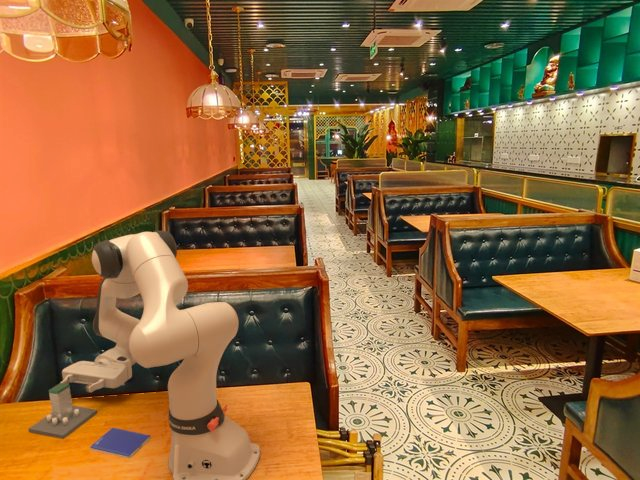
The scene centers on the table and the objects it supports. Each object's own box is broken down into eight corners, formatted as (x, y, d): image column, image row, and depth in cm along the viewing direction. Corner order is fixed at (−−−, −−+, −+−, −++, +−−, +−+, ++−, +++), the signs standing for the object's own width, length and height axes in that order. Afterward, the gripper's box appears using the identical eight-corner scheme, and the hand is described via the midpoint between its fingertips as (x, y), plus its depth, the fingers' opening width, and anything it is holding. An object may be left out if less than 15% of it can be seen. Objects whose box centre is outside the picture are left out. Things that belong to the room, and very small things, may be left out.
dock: (97, 412, 126) (96, 403, 126) (63, 438, 115) (62, 428, 114) (64, 407, 130) (63, 398, 129) (28, 431, 118) (27, 422, 118)
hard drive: (89, 446, 110) (129, 455, 107) (113, 426, 118) (150, 434, 114) (90, 451, 111) (129, 460, 107) (113, 431, 118) (151, 439, 115)
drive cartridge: (73, 415, 124) (69, 384, 122) (62, 423, 120) (57, 391, 118) (65, 414, 124) (60, 382, 122) (53, 422, 121) (48, 390, 119)
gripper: (81, 352, 141) (45, 373, 128) (134, 359, 135) (101, 382, 122) (84, 370, 142) (48, 392, 129) (136, 378, 137) (104, 402, 124)
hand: (74, 387), depth 126 cm, fingers open, 8 cm apart
